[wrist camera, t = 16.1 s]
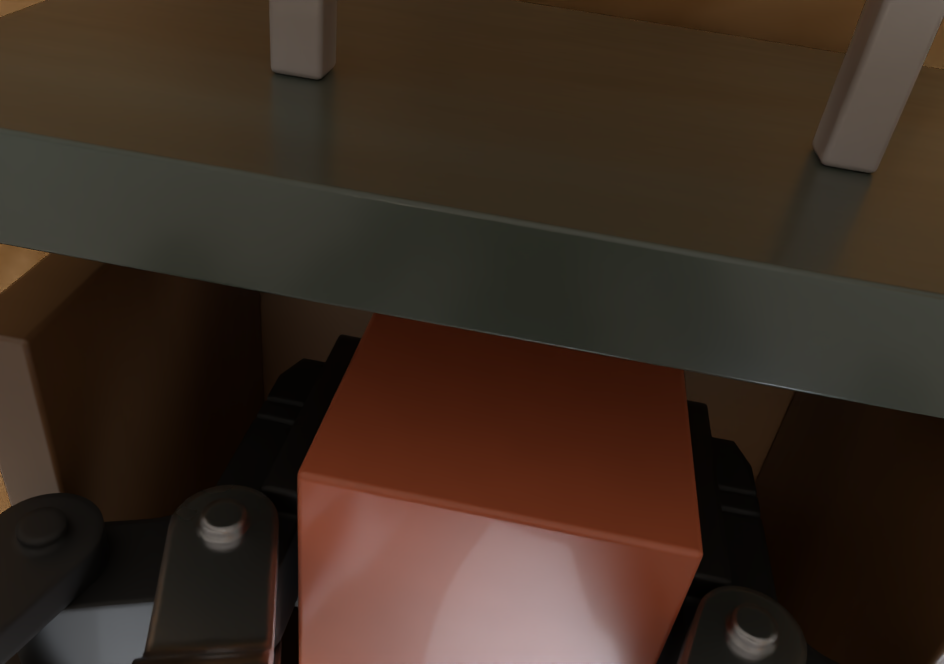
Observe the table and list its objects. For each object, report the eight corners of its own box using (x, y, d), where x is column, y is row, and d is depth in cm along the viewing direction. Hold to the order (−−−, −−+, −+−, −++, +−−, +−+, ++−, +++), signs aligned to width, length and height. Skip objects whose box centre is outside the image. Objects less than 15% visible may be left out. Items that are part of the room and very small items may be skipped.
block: (391, 271, 12) (293, 473, 9) (680, 323, 12) (706, 556, 8) (376, 477, 15) (296, 701, 11) (615, 525, 14) (613, 769, 11)
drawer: (160, -382, 11) (-471, -612, 5) (1169, -245, 10) (2068, -296, 4) (234, 555, 22) (78, 865, 16) (718, 655, 21) (760, 1022, 15)
